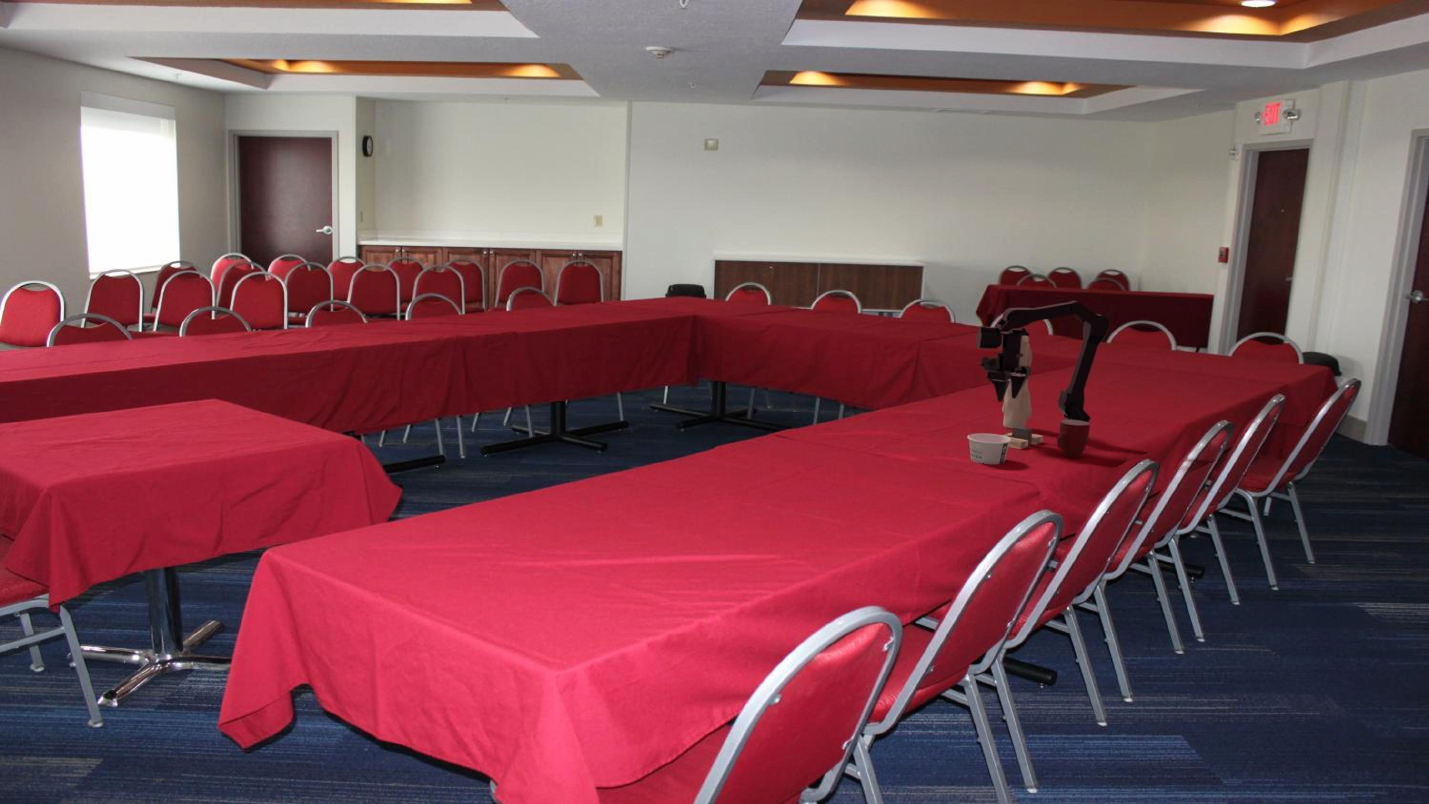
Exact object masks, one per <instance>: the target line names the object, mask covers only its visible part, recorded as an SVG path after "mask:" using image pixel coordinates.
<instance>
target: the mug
mask: <svg viewBox="0 0 1429 804" xmlns="http://www.w3.org/2000/svg"><path fill="white" fill-rule="evenodd" d="M1090 425H1091V423H1090V422H1089V423H1088V422H1085V421H1080V420H1067V419H1064V420H1063V419H1062V420H1060V423H1059V434H1058V436H1057V439H1056V445H1057V448H1059V449H1061V450H1062V452H1063V454H1064V456H1065V457H1066V456H1067V458H1071V457H1073V458H1074V459H1077V458H1080V457H1081V455H1082V454H1083V452H1084V451H1085V449H1086V447H1087V442H1088V441H1087V439H1089V435H1090V429H1091V428H1090ZM1073 458H1072V459H1073Z"/></svg>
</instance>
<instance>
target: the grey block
mask: <svg viewBox="0 0 1429 804" xmlns="http://www.w3.org/2000/svg"><path fill="white" fill-rule="evenodd" d="M1011 433H1012V438H1017V439H1023V440H1028V446H1032V444H1031V440H1032V434H1033V428H1031V427H1026V426H1025V427H1020V426H1016V427H1012V429H1011Z"/></svg>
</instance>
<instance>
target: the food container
mask: <svg viewBox="0 0 1429 804" xmlns="http://www.w3.org/2000/svg"><path fill="white" fill-rule="evenodd" d="M1002 435H1003V434H1002ZM1002 435H1001V434H996V433H995V434H994V433H972V434H968V435H967V439H968V442H969V443H968V444H969V451H970V460H971V461H972V460H973V461H972V462H974V463H978V464H983V463H984V464H985V465H1001V464H1004V463H1005V461H1006V458H1007V453H1008V450H1009V447H1008V446H1009V442H1011V439H1010V438H1008V437H1006V436H1002Z"/></svg>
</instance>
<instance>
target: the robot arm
mask: <svg viewBox="0 0 1429 804" xmlns="http://www.w3.org/2000/svg"><path fill="white" fill-rule="evenodd" d="M1001 316H1002V317H1001V319H1000V320H999V321H998V322H997V323H996V325H995V326H994V327H993V326H992V327H991V326H990V327H989V326H985V325H981V326H979V328H978V329H979V330H978V331H977V335H976V339H975V341H976V342H975V344H976V345H975V346H976V348H977V349H978V350H980V349H981V350H997V349H998V348H1000V347H1001V350H1000V351H999V352H998V353H997V356H996V357H993V358H991V357H990V356H989V355H988V356H985V357H984V356H983V357H982V358H981V361H980V367H982V368H983V370H984V372H985V371H986V375H985V378H986V379H988V381H989V382H991V384H992V385H993V386H994V390H995V394H996V399H997V402H998V403H1002V402H1003V400H1004V398H1005V395H1006V391H1007V388H1008V385H1009V383H1010V381H1008V380H1009V379H1010V380H1011V392H1012V398H1013V399H1015V398H1016V397H1017V395H1018V393H1019V392H1020V390H1021V388H1022V387H1023V385H1024V383H1025V382H1026V380H1027V379H1028V380H1029V378H1030V376H1032V368H1031V366H1025V365H1020V357H1023V353H1021V343H1022V336H1027V337H1029V336H1030V333H1029V332H1028V331H1027V330H1026V328H1025V327H1026V326H1029V325H1031V324H1033V323H1036V322H1039V321H1044V320H1050V319H1057V318H1062V317H1068V316H1074V317H1075V319H1077V320H1079V321H1080V322H1081V323H1082V324H1083V326H1082V327H1083V328H1082V344H1081V347H1080V351H1079V354H1078V356H1077V360H1076V363H1075V367H1074V370H1073V373H1072V377H1071V380H1070V383H1069V385H1068V387H1067V388H1066V389H1060V391H1059V392H1060V393H1059V397H1058V399H1057V400H1056V402H1057V403H1058V405H1057V407H1058V409H1059V411H1060V413H1062V415H1063V417H1064V419H1065V420H1080V421H1085V422H1088V423H1090V421H1091V416H1090V415H1089V414H1088V413H1087V412H1086V411H1085V410H1084V407H1085V406H1084V405H1085V388H1086V385H1087V382H1088V380H1089V379H1088V378H1089V375H1090V372H1091V369H1092V366H1093V363H1094V361H1095V356H1096V353H1097V351H1098V347H1099V345H1100V344H1101V343H1102V341H1103V340H1104V339H1105V338H1106V335H1107V334H1108V332H1109V330H1110V327H1111V322H1110V320H1109V319H1108V317H1107V316H1105V315H1102V314H1098V313H1095V312H1094V311H1093V310H1091V309H1089V308H1088V307H1087V306H1085V305H1083V303H1082V302H1079V301H1076V300H1070V301H1069V302H1068V301H1067V302H1062V303H1055V304H1050V305H1044V306H1039V307H1032V308H1031V307H1030V308H1029V307H1008V308H1007V309H1005V310H1004V312H1003V313H1002V315H1001ZM1025 375H1026V376H1025ZM1088 441H1090V439H1089V438H1088V439H1087V442H1088Z"/></svg>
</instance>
